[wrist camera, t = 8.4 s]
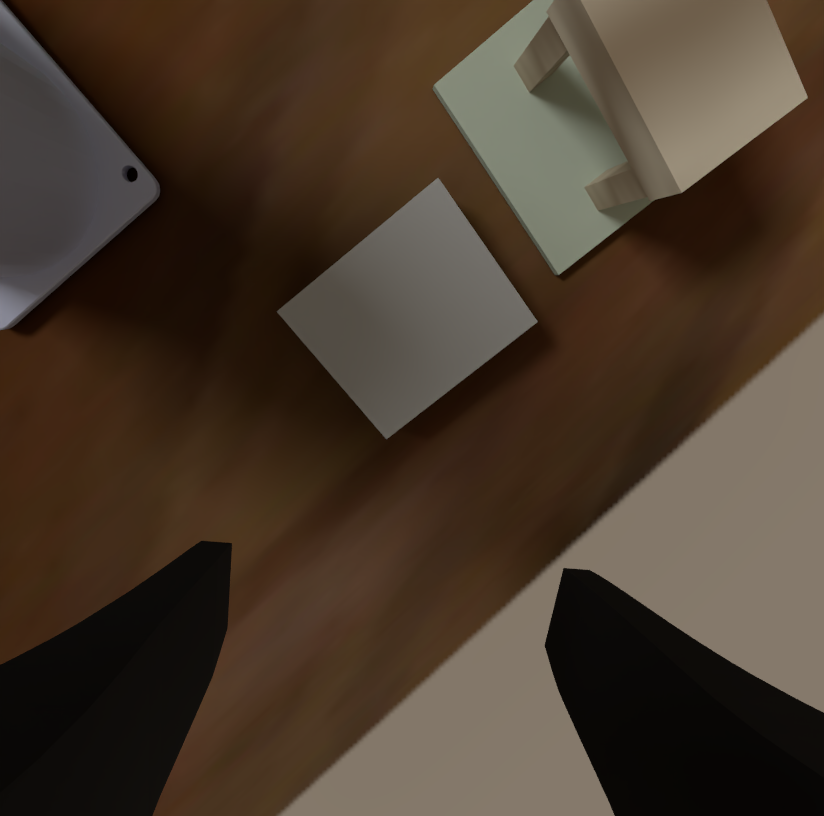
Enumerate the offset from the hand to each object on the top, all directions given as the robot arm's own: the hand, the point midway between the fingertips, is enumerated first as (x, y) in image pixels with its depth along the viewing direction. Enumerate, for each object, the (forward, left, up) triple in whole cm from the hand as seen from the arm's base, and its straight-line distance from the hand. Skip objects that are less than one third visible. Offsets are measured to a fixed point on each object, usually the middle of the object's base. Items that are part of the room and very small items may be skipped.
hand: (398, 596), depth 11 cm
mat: (-5, +14, -10) cm, 18 cm away
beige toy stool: (-5, +14, -10) cm, 18 cm away
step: (-4, +4, -10) cm, 12 cm away
